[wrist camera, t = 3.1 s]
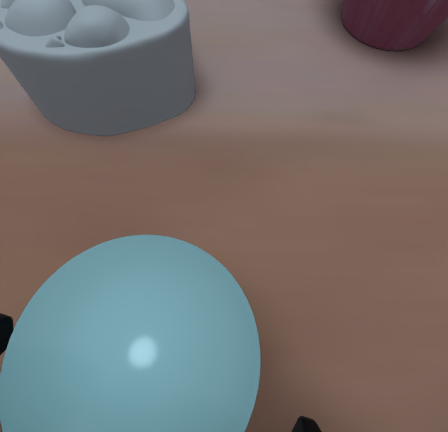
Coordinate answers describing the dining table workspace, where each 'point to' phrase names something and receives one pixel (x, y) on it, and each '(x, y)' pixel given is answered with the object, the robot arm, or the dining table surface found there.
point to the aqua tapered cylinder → (133, 345)
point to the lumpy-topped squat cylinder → (100, 60)
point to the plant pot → (393, 21)
